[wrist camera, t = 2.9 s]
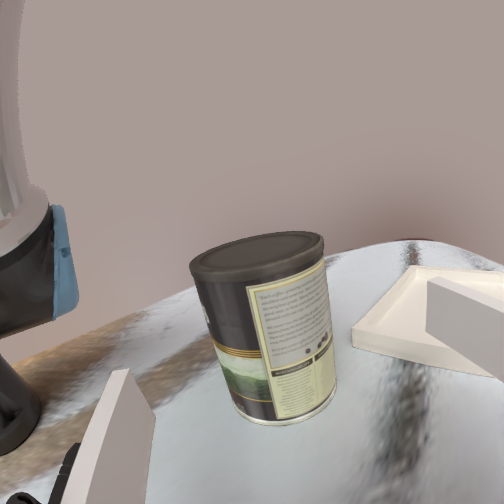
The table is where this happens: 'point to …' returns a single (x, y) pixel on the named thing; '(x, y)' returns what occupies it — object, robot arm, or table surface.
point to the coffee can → (270, 324)
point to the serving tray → (419, 318)
